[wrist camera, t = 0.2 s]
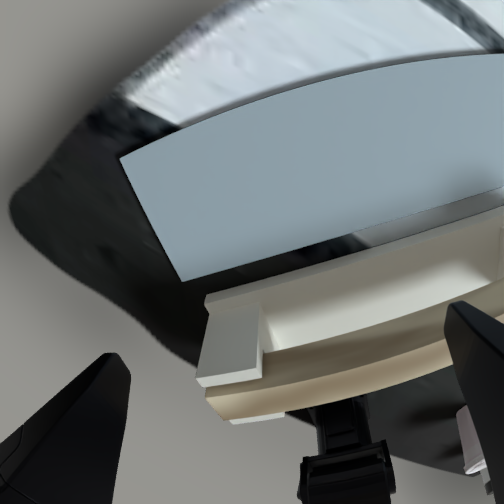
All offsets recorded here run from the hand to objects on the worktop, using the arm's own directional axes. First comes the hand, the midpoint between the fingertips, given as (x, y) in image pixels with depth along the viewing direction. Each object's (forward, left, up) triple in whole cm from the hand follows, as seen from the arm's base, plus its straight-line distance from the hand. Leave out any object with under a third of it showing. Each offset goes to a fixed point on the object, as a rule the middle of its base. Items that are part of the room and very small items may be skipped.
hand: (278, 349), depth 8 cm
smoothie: (-39, -17, -14) cm, 45 cm away
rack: (-11, -6, -14) cm, 19 cm away
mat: (0, -6, -14) cm, 16 cm away
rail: (-11, -6, -9) cm, 16 cm away
